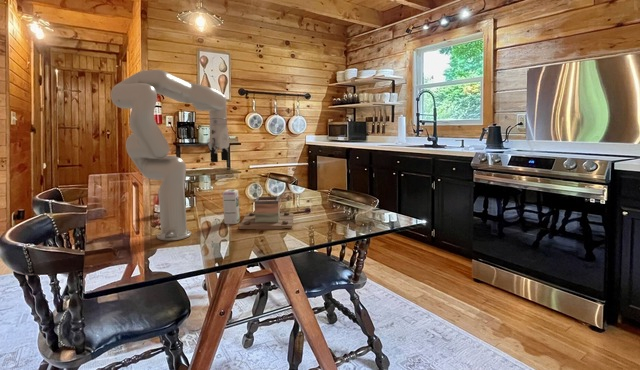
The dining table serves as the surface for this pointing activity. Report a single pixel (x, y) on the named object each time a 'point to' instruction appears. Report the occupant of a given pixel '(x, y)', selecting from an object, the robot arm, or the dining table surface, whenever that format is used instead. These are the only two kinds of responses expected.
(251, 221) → the metal block on plate
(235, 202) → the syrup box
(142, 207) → the dining table surface
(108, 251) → the dining table surface
